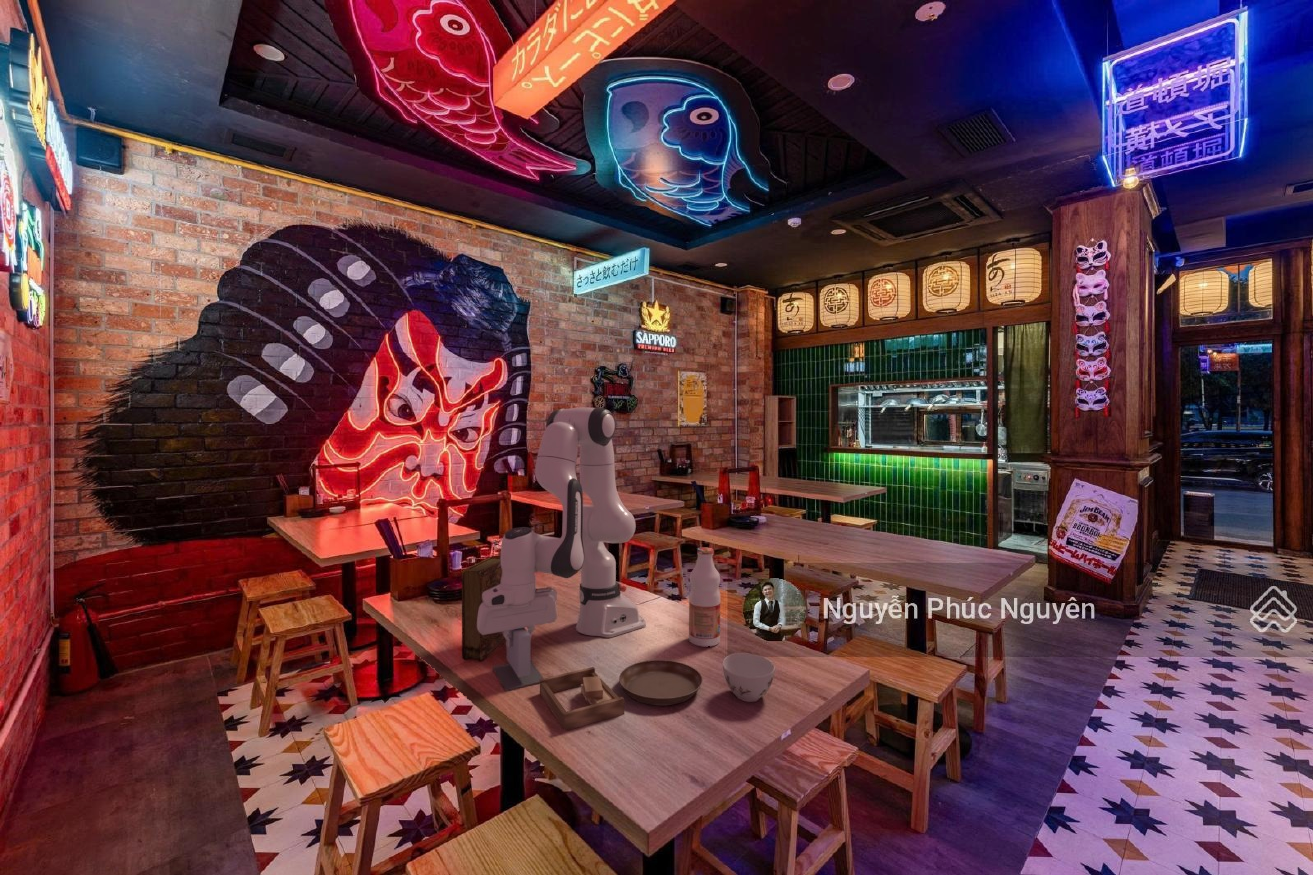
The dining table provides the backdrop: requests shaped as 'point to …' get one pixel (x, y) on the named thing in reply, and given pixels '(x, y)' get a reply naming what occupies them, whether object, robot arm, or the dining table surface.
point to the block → (519, 651)
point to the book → (472, 589)
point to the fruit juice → (704, 601)
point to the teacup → (748, 675)
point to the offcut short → (592, 688)
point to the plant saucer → (660, 682)
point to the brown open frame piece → (585, 713)
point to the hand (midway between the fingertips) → (518, 644)
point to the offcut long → (595, 701)
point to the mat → (516, 677)
